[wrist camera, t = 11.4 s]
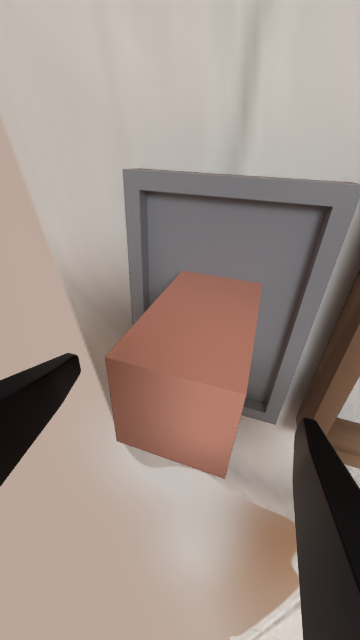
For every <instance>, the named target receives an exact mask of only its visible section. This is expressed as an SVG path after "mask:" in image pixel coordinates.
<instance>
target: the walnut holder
mask: <svg viewBox="0 0 360 640" xmlns="http://www.w3.org/2000/svg"><path fill="white" fill-rule="evenodd" d="M359 376H360V271H359V273H358V276H357V278H356V280H355V282H354V285H353V287H352V289H351V292H350V294H349V296H348V299H347V301H346V303H345V306H344V308H343V310H342V313H341V315H340V317H339V320H338V322H337V324H336V327H335V329H334V331H333V334H332V336H331V338H330V341H329V343H328V345H327V348H326V350H325V352H324V355H323V357H322V359H321V362H320V364H319V366H318V369H317V371H316V373H315V375H314V378H313V380H312V382H311V385H310V387H309V389H308V392H307V394H306V396H305V399H304V401H303V403H302V406H301V408H300V410H299V413H298V415H297V417H296V422H297V427H298V425H299V423H300V421H301V419H302V417H307V418H311V419H314V420H316V421H317V422H318V424H319V425H320V427H321V429H322V430H323V432H324V433H325V435H326V436H327V438H328V440H329V441H330V443H331V444H332V446H333V448H334V449H335V451H336V452H337V454H338V455H339V457H340V459H341V460H342V462H343V463H344V464H346V465H349V466H353V467H356V468H359V469H360V424H357V423H354V422H350V421H346V420H342V419H338V418H337V416H338V414H339V412H340V410H341V409H342V407H343V405H344V403H345V401H346V400H347V398H348V396H349V394H350V392H351V391H352V389H353V387H354V385H355V383H356V382H357V380H358V378H359Z"/></svg>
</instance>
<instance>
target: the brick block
mask: <svg viewBox="0 0 360 640" xmlns="http://www.w3.org/2000/svg"><path fill="white" fill-rule="evenodd" d="M261 290H262V284H261V283H255V282H249V281H243V280H237V279H231V278H225V277H218V276H212V275H206V274H200V273H194V272H188V271H181V273H180V274H179V275H178V276H177V277H176V278H175V279H174V280H173V282H172V283H171V284H170V285H169V286H168V287H167V288H166V289H165V290H164V292H163V293H162V294H161V295H160V296H159V297H158V298H157V299H156V301H155V302H154V303H153V304H152V305H151V306H150V307H149V308H148V310H147V311H146V312H145V313H144V314H143V315H142V316H141V317H140V319H139V320H138V321H137V322H136V323H135V324H134V325H133V326H132V327H131V329H130V330H129V331H128V332H127V333H126V334H125V335H124V336H123V338H122V339H121V340H120V341H119V342H118V343H117V344H116V345H115V347H114V348H113V349H112V350H111V351H110V352H109V353H108V354H107V356H106V357H105V361H106V368H107V375H108V382H109V389H110V396H111V403H112V410H113V418H114V425H115V432H116V438H117V441H118V442H121V443H124V444H127V445H130V446H132V447H135V448H138V449H141V450H144V451H147V452H150V453H152V454H155V455H158V456H161V457H164V458H167V459H169V460H172V461H175V462H178V463H181V464H184V465H187V466H189V467H192V468H195V469H198V470H201V471H204V472H207V473H209V474H212V475H215V476H218V477H221V478H224V479H225V475H226V472H227V468H228V464H229V460H230V456H231V452H232V448H233V444H234V441H235V437H236V433H237V429H238V425H239V421H240V417H241V413H242V409H243V406H244V402H245V398H246V393H247V386H248V379H249V372H250V366H251V359H252V352H253V345H254V338H255V331H256V324H257V317H258V310H259V303H260V297H261Z"/></svg>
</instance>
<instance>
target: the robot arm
mask: <svg viewBox="0 0 360 640" xmlns="http://www.w3.org/2000/svg"><path fill="white" fill-rule="evenodd" d="M80 372H81V368H80V363H79V358H78V356H77V355H75V354H71V353H67V354H64V355H61V356H59V357H57V358H54V359H52V360H49V361H47V362H44V363H42V364H40V365H37V366H35V367H32V368H30V369H28V370H25V371H22V372H20V373H17V374H15V375H12V376H10V377H8V378H5V379H3V380H0V486H1V485H2V484H3V482H4V481H5V480H6V478H7V477H8V476H9V474H10V473H11V471H12V470H13V469H14V468H15V466H16V465H17V464H18V462H19V461H20V459H21V458H22V457H23V456H24V454H25V453H26V452H27V450H28V449H29V448H30V446H31V445H32V443H33V442H34V441H35V439H36V438H37V437H38V435H39V434H40V433H41V431H42V430H43V429H44V427H45V426H46V425H47V423H48V422H49V421H50V419H51V418H52V417H53V415H54V414H55V413H56V411H57V410H58V409H59V407H60V406H61V404H62V403H63V401H64V400H65V398H66V396H67V395H68V393H69V391H70V389H71V388H72V386H73V385H74V383H75V381H76V380H77V378H78V376H79V375H80ZM293 497H294V512H295V526H296V540H297V555H298V570H299V584H300V598H301V613H302V627H303V640H360V488H359V487H358V485H357V484H356V482H355V481H354V479H353V477H352V476H351V474H350V473H349V471H348V470H347V468H346V466H345V465H344V463H343V462H342V460H341V459H340V457H339V455H338V454H337V452H336V451H335V449H334V448H333V446H332V444H331V443H330V441H329V440H328V438H327V436H326V435H325V433H324V432H323V430H322V429H321V427H320V425H319V424H318V422H317V421H316V420H314V419H311V418H307V417H302V419H301V421H300V423H299V425H298V427H297V430H296V432H295V439H294V460H293Z"/></svg>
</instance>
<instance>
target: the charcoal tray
mask: <svg viewBox="0 0 360 640" xmlns="http://www.w3.org/2000/svg"><path fill="white" fill-rule="evenodd" d="M123 181H124V197H125V213H126V228H127V244H128V259H129V275H130V291H131V306H132V322H133V325H134V324H135V323H136V322H137V321H138V320H139V319H140V317H141V316H142V315H143V314H144V313H145V312H146V311H147V310H148V308H149V307H150V306H151V305H152V304H153V303H154V302H155V301H156V299H157V298H158V297H159V296H160V295H161V294H162V293H163V292H164V290H165V289H166V288H167V287H168V286H169V285H170V284H171V283H172V282H173V280H174V279H175V278H176V277H177V276H178V275H179V274H180V273H181V271H188V272H194V273H200V274H206V275H212V276H218V277H225V278H231V279H237V280H243V281H249V282H255V283H261V284H262V290H261V297H260V303H259V310H258V317H257V324H256V331H255V338H254V345H253V352H252V359H251V366H250V372H249V379H248V386H247V393H246V398H245V402H244V406H243V409H242V413H241V415H243V416H247V417H250V418H254V419H257V420H261V421H264V422H268V423H271V424H276V421H277V419H278V416H279V413H280V411H281V408H282V405H283V403H284V400H285V397H286V395H287V392H288V389H289V387H290V384H291V381H292V378H293V376H294V373H295V370H296V368H297V365H298V362H299V360H300V357H301V354H302V352H303V349H304V346H305V344H306V341H307V338H308V335H309V333H310V330H311V327H312V325H313V322H314V319H315V317H316V314H317V311H318V309H319V306H320V303H321V301H322V298H323V295H324V292H325V290H326V287H327V284H328V282H329V279H330V276H331V274H332V271H333V268H334V266H335V263H336V260H337V258H338V255H339V252H340V250H341V247H342V244H343V241H344V239H345V236H346V233H347V231H348V228H349V225H350V223H351V220H352V217H353V215H354V212H355V209H356V207H357V204H358V201H359V198H360V184H357V183H350V182H335V181H320V180H305V179H289V178H274V177H259V176H243V175H228V174H213V173H197V172H182V171H167V170H151V169H123Z"/></svg>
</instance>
